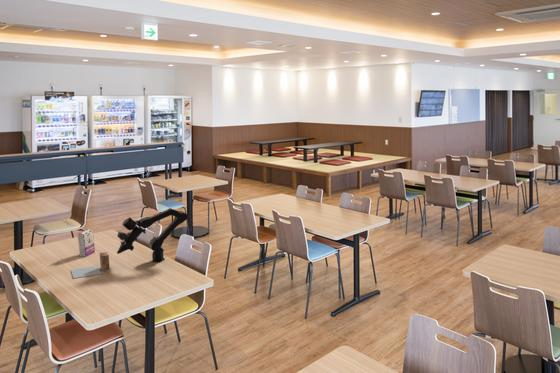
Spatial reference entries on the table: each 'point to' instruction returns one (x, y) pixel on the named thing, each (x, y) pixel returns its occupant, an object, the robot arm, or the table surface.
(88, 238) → the candy bar box
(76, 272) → the slate board
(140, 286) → the table surface
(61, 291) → the table surface
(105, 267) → the walnut block
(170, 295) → the table surface
